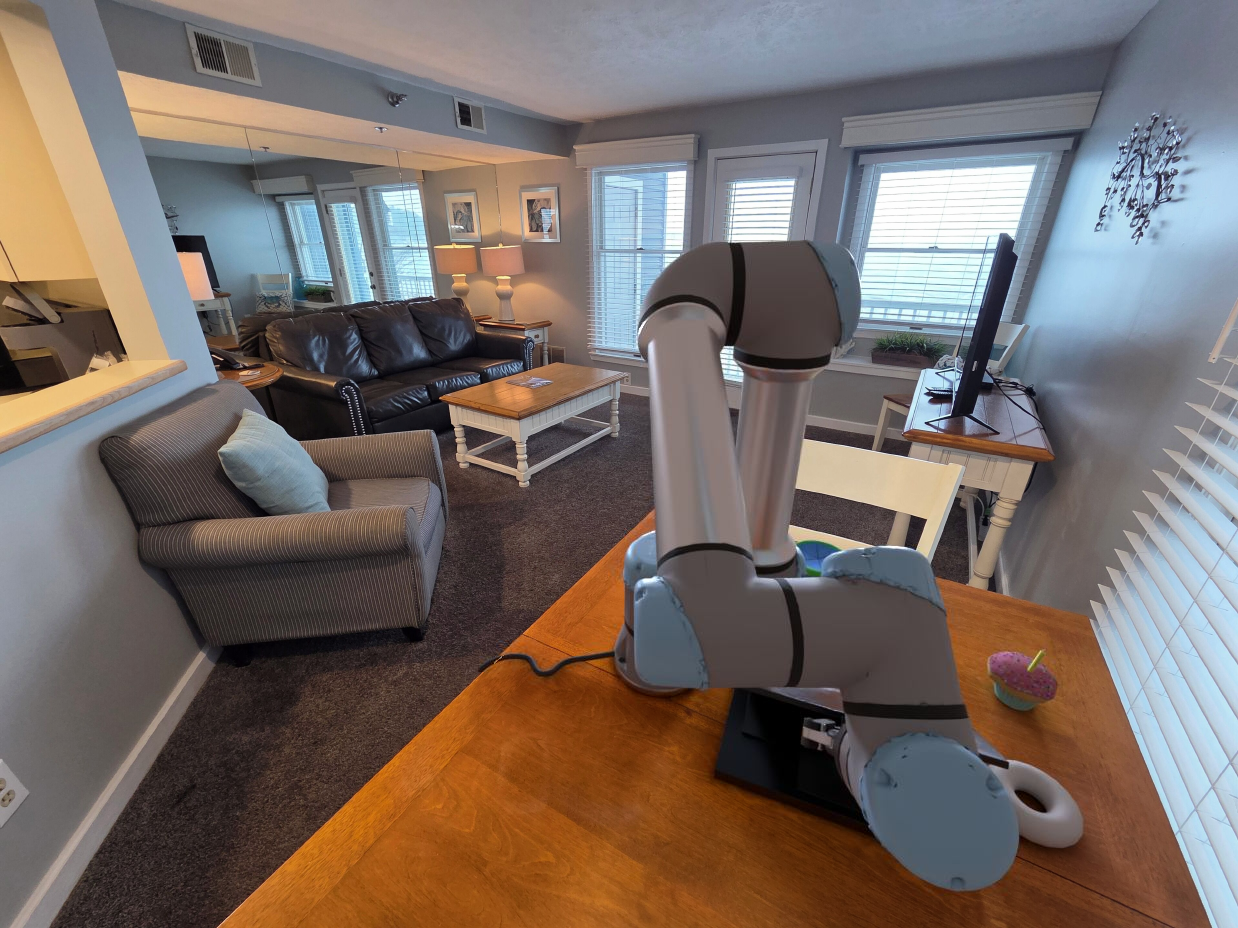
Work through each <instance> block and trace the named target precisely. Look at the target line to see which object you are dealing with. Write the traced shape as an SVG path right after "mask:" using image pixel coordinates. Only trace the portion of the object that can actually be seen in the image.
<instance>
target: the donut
mask: <svg viewBox="0 0 1238 928" xmlns="http://www.w3.org/2000/svg"><path fill="white" fill-rule="evenodd" d="M1006 760H1007V761H1008V762H1009V769H1008V770H1007V769H1004V768H1001V767H997V766H994V765H991V764H988V765H987V766H988V767H989V768H990V769H991V770H992V772H993V773H994V774H995V775H996V776H997V777H998V779H999V780H1000V782H1001V783H1002V785H1003V786H1004V787H1005V789H1006V791H1007V793H1008V794H1009V796H1010V798H1011V801H1012V803H1013V806H1014V809H1015V812H1016V816H1017V820H1018V826H1019V836H1021V837H1023V838H1024V839H1026V840H1028V841H1029V842H1031V843H1034V844H1037V845H1040V846H1043V847H1046V848H1053V849H1054V848H1056V849H1064V848H1068V847H1071V846H1075V844H1077V843H1078V842H1079V840H1080V839H1081V838H1082V836H1083V835H1084V824H1085V823H1084V822H1085V821H1084V818H1083V815H1082V813H1081V810H1080V807H1079V805H1078V803H1076V801H1075V799H1074V798H1073V796H1072V795H1071V794H1070V792H1069V791H1068V790H1067V789H1065V788H1064V787H1063V786H1062V784H1060V783H1059V782H1058V781H1057V780H1056V779H1055V778H1053V777H1051V775H1049V774H1047V773H1046V772H1045V771H1043V770H1041V769H1039V768H1037V767H1035V766H1033V765H1031V764H1029V763H1025V762H1021V761H1019V760H1016V759H1015V760H1013V759H1006ZM1015 791H1021V792H1024V793H1026V794H1029V795H1030V796H1032V797H1034V798H1035V799H1036V800H1037V801H1038V802H1039V803H1040V804H1041V805H1042V806H1043V807H1044V809H1045V812H1040V811H1037V810H1035V809H1032V808H1030V807H1029V806H1027V805H1026V804H1025V803H1024V802H1022V800H1021V799H1020V798H1019V797H1018V795H1017V794H1016V793H1015Z"/></svg>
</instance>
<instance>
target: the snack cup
mask: <svg viewBox="0 0 1238 928" xmlns="http://www.w3.org/2000/svg"><path fill="white" fill-rule="evenodd" d="M795 543H796V546H797V547H798V548H799V549H800V551H801V552H802V554H803V556H804V560H805V564H806V572H807V574H806V576H805V578H812V577H821V573H822V563H823V560H824V559H825V558H826V557H827V556H829V555H831V554H833V553H836V552H839V551H843V550H842V549H840V548H839V547H838V546H836V545H835V544H832V543H829V542H826V541H822V540H816V539H815V540H814V539H807V540H801V541H798V542H795Z"/></svg>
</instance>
